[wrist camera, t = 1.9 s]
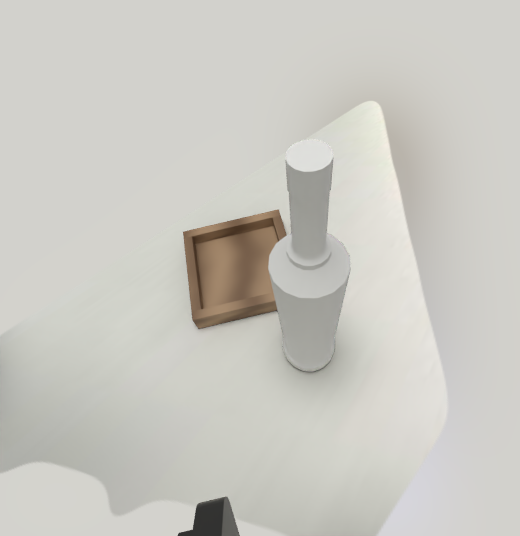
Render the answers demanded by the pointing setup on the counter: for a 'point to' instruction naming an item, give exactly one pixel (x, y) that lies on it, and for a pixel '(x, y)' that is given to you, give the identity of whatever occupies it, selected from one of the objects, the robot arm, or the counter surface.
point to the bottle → (309, 261)
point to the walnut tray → (232, 268)
